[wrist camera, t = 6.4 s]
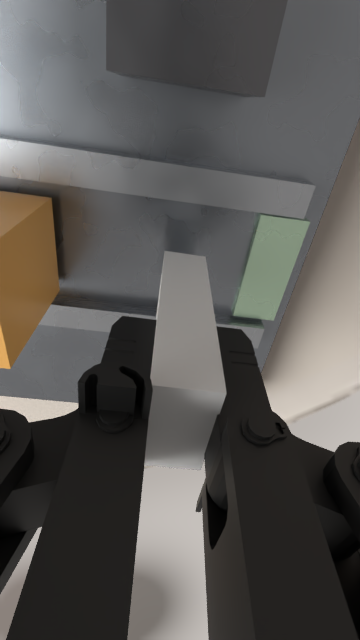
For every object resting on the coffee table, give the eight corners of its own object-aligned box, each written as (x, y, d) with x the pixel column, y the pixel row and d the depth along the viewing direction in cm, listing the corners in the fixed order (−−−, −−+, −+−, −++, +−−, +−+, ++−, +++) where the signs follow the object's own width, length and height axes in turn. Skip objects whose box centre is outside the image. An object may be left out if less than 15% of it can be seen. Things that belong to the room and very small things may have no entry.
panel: (-203, -148, 9) (-564, -378, 5) (380, -28, 11) (525, -119, 6) (-36, 361, 21) (-97, 434, 16) (237, 388, 22) (252, 463, 18)
